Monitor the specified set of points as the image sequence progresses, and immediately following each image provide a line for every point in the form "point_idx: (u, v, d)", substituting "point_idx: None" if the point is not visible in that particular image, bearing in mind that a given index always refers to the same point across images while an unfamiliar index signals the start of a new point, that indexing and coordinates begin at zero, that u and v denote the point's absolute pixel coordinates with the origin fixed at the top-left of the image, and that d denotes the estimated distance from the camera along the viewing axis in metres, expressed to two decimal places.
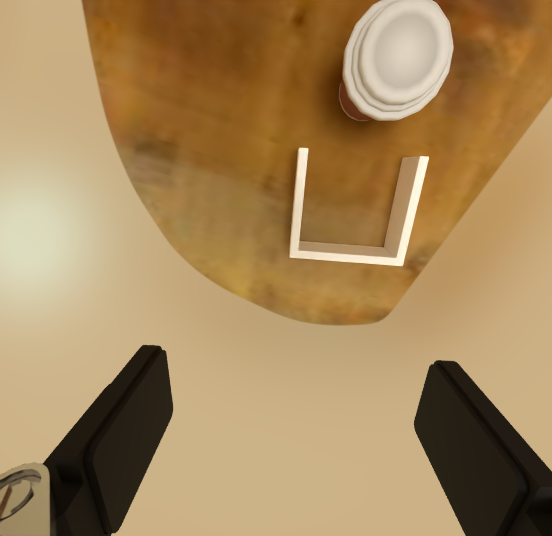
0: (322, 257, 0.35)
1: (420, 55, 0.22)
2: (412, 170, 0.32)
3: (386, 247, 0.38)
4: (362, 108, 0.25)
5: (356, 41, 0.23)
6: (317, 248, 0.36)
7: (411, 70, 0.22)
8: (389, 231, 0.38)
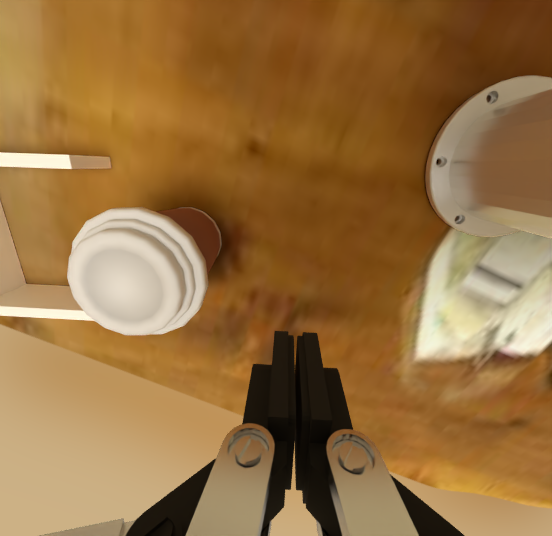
0: None
1: (127, 304, 0.17)
2: None
3: (19, 287, 0.29)
4: (74, 240, 0.17)
5: (141, 222, 0.17)
6: None
7: (110, 296, 0.17)
8: (41, 288, 0.30)
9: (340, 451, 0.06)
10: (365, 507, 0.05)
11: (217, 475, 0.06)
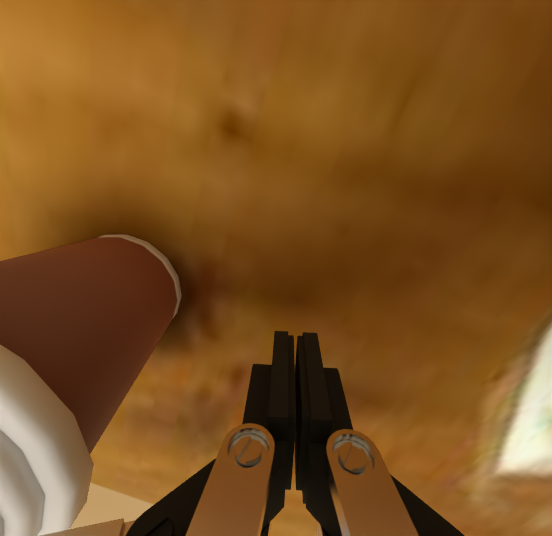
0: None
1: None
2: None
3: None
4: None
5: None
6: None
7: None
8: None
9: (340, 451, 0.06)
10: (365, 507, 0.05)
11: (217, 475, 0.06)
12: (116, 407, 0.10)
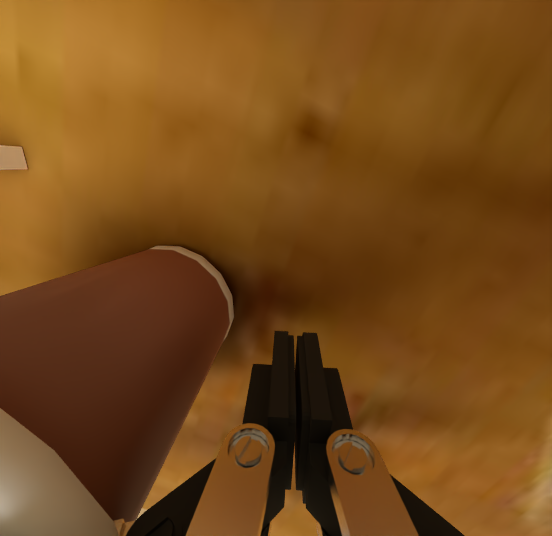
0: None
1: None
2: None
3: None
4: None
5: None
6: None
7: None
8: None
9: (340, 451, 0.06)
10: (365, 507, 0.05)
11: (217, 475, 0.06)
12: (162, 464, 0.08)
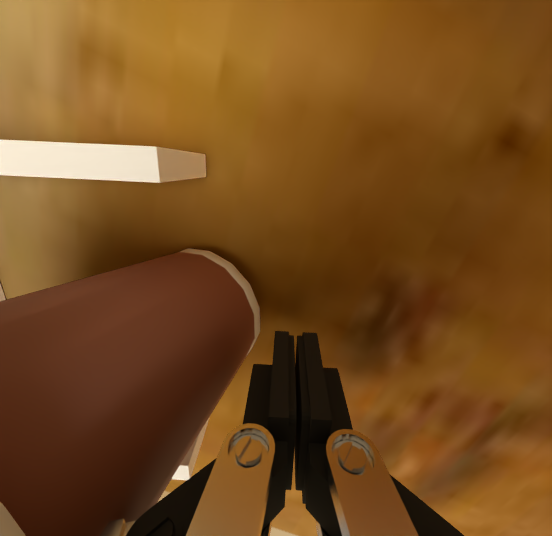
0: None
1: None
2: None
3: None
4: None
5: None
6: None
7: None
8: None
9: (340, 451, 0.06)
10: (365, 507, 0.05)
11: (218, 475, 0.06)
12: (160, 495, 0.08)
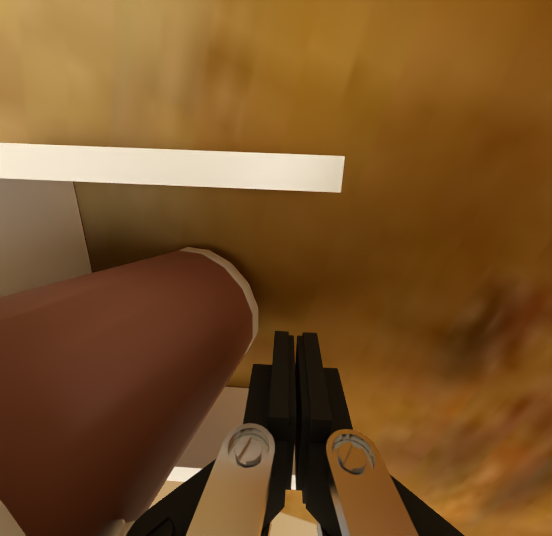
0: None
1: None
2: None
3: None
4: None
5: None
6: (24, 244, 0.11)
7: None
8: None
9: (340, 451, 0.06)
10: (365, 507, 0.05)
11: (217, 475, 0.06)
12: (156, 494, 0.08)
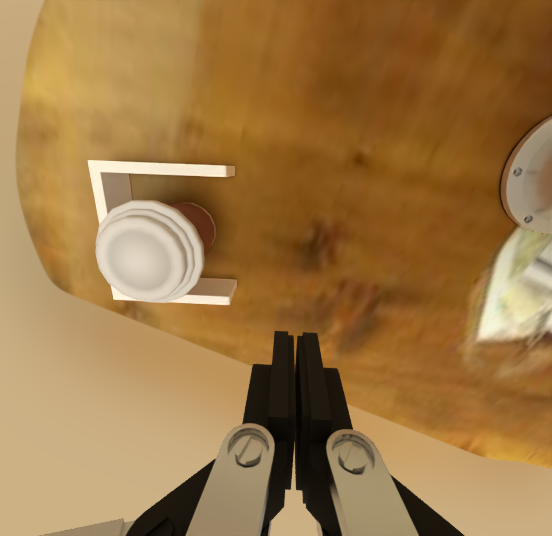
0: (99, 205, 0.27)
1: (141, 275, 0.22)
2: (217, 291, 0.31)
3: None
4: (100, 223, 0.22)
5: (156, 212, 0.21)
6: (115, 198, 0.28)
7: (128, 269, 0.22)
8: None
9: (340, 451, 0.06)
10: (365, 507, 0.05)
11: (217, 475, 0.06)
12: None
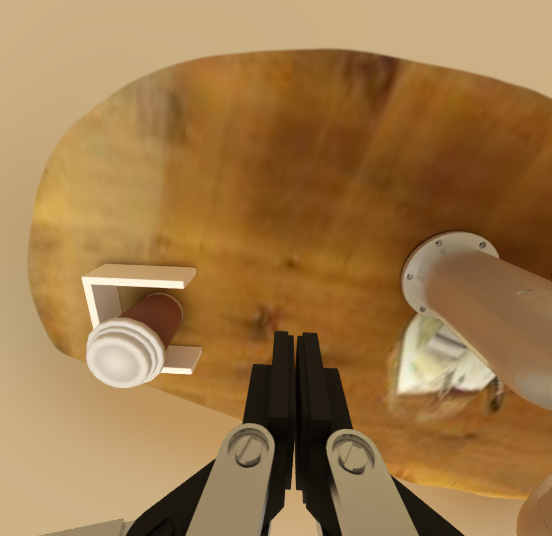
0: (90, 305, 0.36)
1: (118, 371, 0.31)
2: (183, 362, 0.40)
3: None
4: (89, 334, 0.31)
5: (128, 329, 0.30)
6: (103, 297, 0.37)
7: (109, 367, 0.31)
8: None
9: (340, 451, 0.06)
10: (365, 507, 0.05)
11: (217, 475, 0.06)
12: None
